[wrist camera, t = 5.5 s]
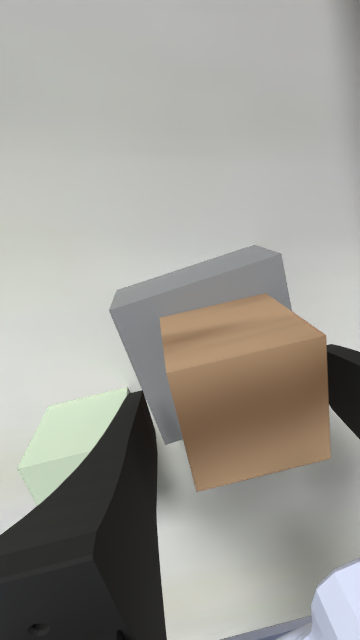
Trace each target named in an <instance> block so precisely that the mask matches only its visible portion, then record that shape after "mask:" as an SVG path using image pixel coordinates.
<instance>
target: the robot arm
mask: <svg viewBox="0 0 360 640" xmlns="http://www.w3.org/2000/svg"><path fill="white" fill-rule="evenodd" d="M327 373H328V400H329V405H330V406H331V408H332V409H333V411H334V412H335V413H336V414H337V415H338V416H339V417H340V418H341V419H342V421H343V422H344V423H345V424H346V425H347V426H348V427H349V428H350V429H351V430H352V431H353V432H354V434H355V435H356V436H357V437H358V438H359V439H360V352H358V351H355V350H352V349H348V348H345V347H341V346H337V345H333V344H330V345H327ZM156 502H157V444H156V434H155V429H154V425H153V422H152V419H151V416H150V412H149V409H148V406H147V403H146V399H145V396H144V393H143V390H142V391H138V392H134V393H130V394H128V395H127V396H126V398H125V399H124V401H123V403H122V404H121V406H120V408H119V410H118V411H117V413H116V415H115V416H114V418H113V420H112V421H111V423H110V424H109V426H108V428H107V429H106V431H105V432H104V434H103V435H102V437H101V438H100V439H99V441H98V442H97V444H96V445H95V446H94V448H93V449H92V450H91V452H90V453H89V454H88V455H87V457H86V458H85V459H84V460H83V461H82V462H81V464H80V465H79V466H78V467H77V468H76V469H75V470H74V471H73V472H72V473H71V474H70V475H69V476H68V477H67V478H66V479H65V480H64V481H63V482H62V484H61V485H60V486H59V487H58V488H57V489H56V490H55V491H53V492H52V493H51V494H50V495H49V496H48V497H47V498H46V499H45V500H44V501H42V502H41V503H40V504H39V505H38V506H37V507H35V508H34V509H33V510H32V511H31V512H30V513H28V514H27V515H26V516H25V517H23V518H22V519H21V520H20V521H18V522H17V523H16V524H14V525H13V526H12V527H10V528H9V529H8V530H6V531H5V532H4V533H3V534H1V535H0V640H167V638H166V628H165V618H164V607H163V597H162V586H161V574H160V562H159V550H158V536H157V520H156ZM311 613H312V616H308V617H304V618H301V619H297V620H293V621H289V622H285V623H281V624H278V625H274V626H270V627H266V628H262V629H259V630H255V631H251V632H247V633H243V634H240V635H236V636H232V637H228V638H224V639H221V640H360V558H359V559H356V560H353V561H351V562H349V563H347V564H344V565H342V566H340V567H337V568H335V569H333V570H332V571H331V572H330V573H329V574H328V575H327V576H326V577H325V578H324V579H323V580H322V581H321V582H319V583H318V585H317V588H316V592H315V595H314V598H313V601H312V605H311Z"/></svg>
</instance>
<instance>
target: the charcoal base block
mask: <svg viewBox="0 0 360 640" xmlns="http://www.w3.org/2000/svg"><path fill="white" fill-rule="evenodd" d="M264 293H266V294H268V295H269V296H271V297H272V298H273V299H275V300H276V301H278V302H279V303H281V304H282V305H284V306H285V307H286V308H288V309H289V310H291V311H292V309H291V304H290V298H289V293H288V288H287V282H286V277H285V272H284V266H283V261H282V255H281V254H280V253H277V252H274V251H271V250H268V249H265V248H262V247H259V246H256V245H253V246H250V247H247V248H244V249H241V250H237V251H234V252H231V253H228V254H225V255H222V256H219V257H216V258H213V259H210V260H207V261H204V262H201V263H198V264H195V265H192V266H189V267H186V268H183V269H180V270H177V271H174V272H171V273H168V274H165V275H162V276H159V277H156V278H153V279H150V280H147V281H144V282H141V283H138V284H134V285H131V286H128V287H125V288H122V289H119V290H117V291H116V294H115V296H114V299H113V302H112V304H111V307H110V309H109V311H110V314H111V316H112V319H113V321H114V323H115V326H116V328H117V331H118V333H119V335H120V338H121V340H122V342H123V345H124V347H125V350H126V352H127V354H128V357H129V359H130V362H131V364H132V366H133V369H134V371H135V373H136V376H137V378H138V381H139V383H140V385H141V388H142V390H143V393H144V395H145V397H146V400H147V402H148V404H149V407H150V409H151V412H152V414H153V416H154V419H155V421H156V424H157V426H158V428H159V431H160V433H161V435H162V438H163V440H164V443H165V445H166V444H169V443H173V442H176V441H179V440H182V439H183V436H182V433H181V429H180V425H179V421H178V417H177V413H176V409H175V405H174V401H173V397H172V394H171V390H170V386H169V382H168V378H167V374H166V367H165V359H164V351H163V343H162V335H161V327H160V319H159V318H161V317H165V316H169V315H174V314H178V313H182V312H187V311H191V310H195V309H200V308H204V307H208V306H212V305H217V304H221V303H225V302H230V301H234V300H238V299H243V298H247V297H251V296H256V295H260V294H264Z"/></svg>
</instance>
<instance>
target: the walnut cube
mask: <svg viewBox="0 0 360 640" xmlns="http://www.w3.org/2000/svg"><path fill="white" fill-rule="evenodd" d="M159 319H160V327H161V335H162V343H163V351H164V359H165V367H166V374H167V378H168V382H169V386H170V390H171V394H172V397H173V401H174V405H175V409H176V413H177V417H178V421H179V425H180V429H181V433H182V436H183V440H184V444H185V448H186V452H187V456H188V460H189V464H190V468H191V472H192V475H193V479H194V483H195V487H196V491H197V492H198V491H202V490H206V489H210V488H215V487H219V486H223V485H227V484H231V483H235V482H239V481H243V480H247V479H251V478H255V477H259V476H263V475H267V474H271V473H275V472H279V471H283V470H287V469H291V468H295V467H299V466H303V465H307V464H311V463H315V462H319V461H323V460H327V459H331V454H330V427H329V400H328V373H327V345H326V335H325V334H324V333H322V332H321V331H319V330H318V329H317V328H315V327H314V326H312V325H311V324H309V323H308V322H306V321H305V320H304V319H302V318H301V317H299V316H298V315H296V314H295V313H294V312H292V311H291V310H289V309H288V308H286V307H285V306H284V305H282V304H281V303H279V302H278V301H276V300H275V299H273V298H272V297H271V296H269V295H268V294H266V293H264V294H260V295H256V296H251V297H247V298H243V299H238V300H234V301H230V302H225V303H221V304H217V305H212V306H208V307H204V308H200V309H195V310H191V311H187V312H182V313H178V314H174V315H169V316H165V317H161V318H159Z"/></svg>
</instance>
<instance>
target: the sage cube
mask: <svg viewBox="0 0 360 640" xmlns="http://www.w3.org/2000/svg"><path fill="white" fill-rule="evenodd" d="M128 394H129V390H128V387H125V388H121V389H117V390H113V391H109V392H105V393H100V394H96V395H92V396H88V397H84V398H80V399H76V400H71V401H67V402H63V403H59V404H55V405H51V406H49V407H48V409H47V411H46V413H45V415H44V417H43V419H42V421H41V423H40V425H39V427H38V429H37V431H36V433H35V435H34V437H33V439H32V441H31V443H30V444H29V446H28V448H27V450H26V452H25V454H24V456H23V458H22V460H21V462H20V464H19V466H18V468H17V469H18V471H19V473H20V475H21V477H22V479H23V480H24V482H25V484H26V486H27V488H28V490H29V492H30V493H31V495H32V497H33V499H34V501H35V503H36V505H37V506H38V505H39V504H40V503H41V502H42V501H44V500H45V499H46V498H47V497H48V496H49V495H50V494H51V493H52V492H53V491H55V490H56V489H57V488H58V487H59V486H60V485H61V484H62V482H63V481H64V480H65V479H66V478H67V477H68V476H69V475H70V474H71V473H72V472H73V471H74V470H75V469H76V468H77V467H78V466H79V465H80V464H81V462H82V461H83V460H84V459H85V458H86V457H87V455H88V454H89V453H90V452H91V450H92V449H93V448H94V446H95V445H96V444H97V442H98V441H99V439H100V438H101V437H102V435H103V434H104V432H105V431H106V429H107V428H108V426H109V424H110V423H111V421H112V420H113V418H114V416H115V415H116V413H117V411H118V410H119V408H120V406H121V404H122V403H123V401H124V399H125V398H126V396H127V395H128Z"/></svg>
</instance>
